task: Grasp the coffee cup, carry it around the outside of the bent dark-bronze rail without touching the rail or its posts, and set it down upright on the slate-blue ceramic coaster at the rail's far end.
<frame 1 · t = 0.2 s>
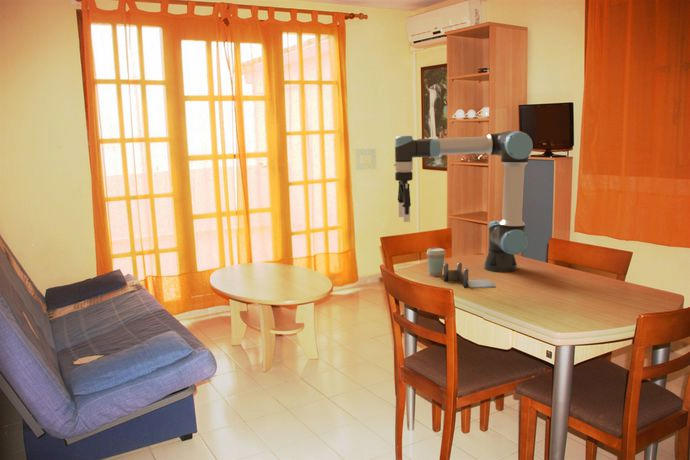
hand: (404, 219, 264), 27 cm above the table, fingers open, 13 cm apart
coffee cup: (435, 275, 275), on the table
rail: (459, 280, 263), on the table
coaster: (479, 284, 257), on the table
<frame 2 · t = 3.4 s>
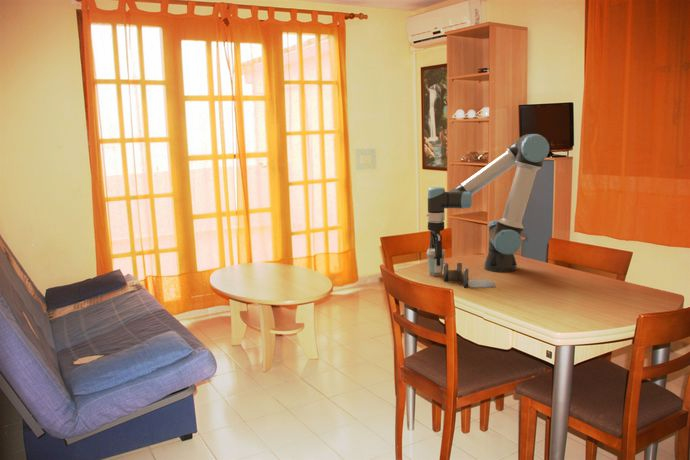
hand: (435, 269, 274), 2 cm above the table, fingers closed on coffee cup, 8 cm apart
coffee cup: (435, 275, 275), on the table, touching gripper
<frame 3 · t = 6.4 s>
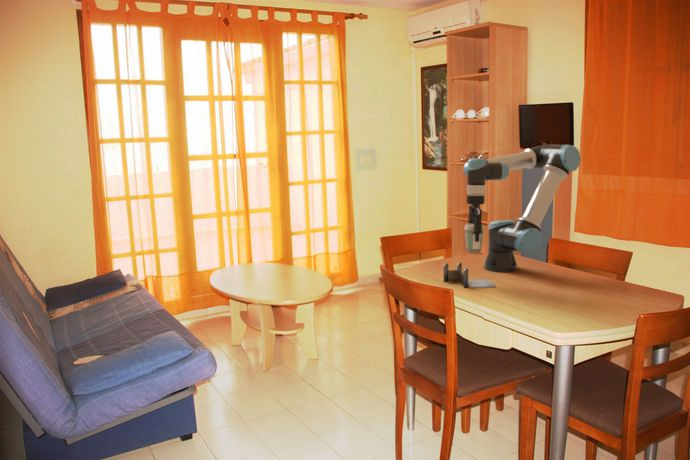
hand: (473, 246, 258), 16 cm above the table, fingers closed on coffee cup, 8 cm apart
coffee cup: (473, 252, 259), point 13 cm above the table, touching gripper
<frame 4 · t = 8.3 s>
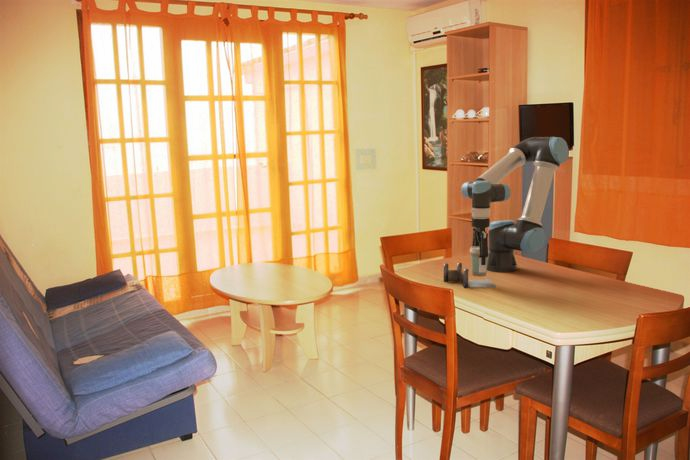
hand: (479, 269, 256), 7 cm above the table, fingers closed on coffee cup, 8 cm apart
coffee cup: (479, 275, 256), point 4 cm above the table, touching gripper
when the fingers open (4 cm above the table, at t = 9.8 s): coffee cup stays where it is, resting on coaster.
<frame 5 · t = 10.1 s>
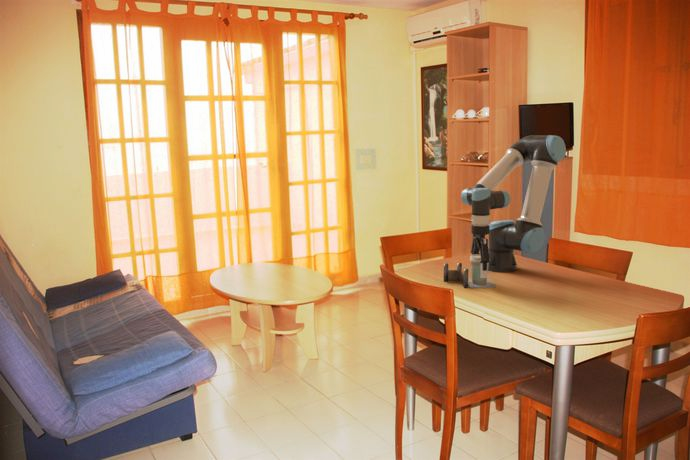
hand: (479, 274, 256), 5 cm above the table, fingers open, 12 cm apart
coffee cup: (479, 283, 257), resting on coaster
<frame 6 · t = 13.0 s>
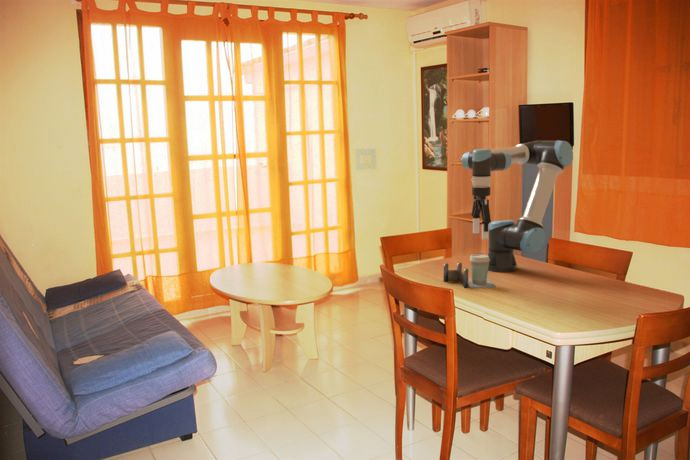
hand: (480, 236, 253), 21 cm above the table, fingers open, 13 cm apart
nothing on the table moved.
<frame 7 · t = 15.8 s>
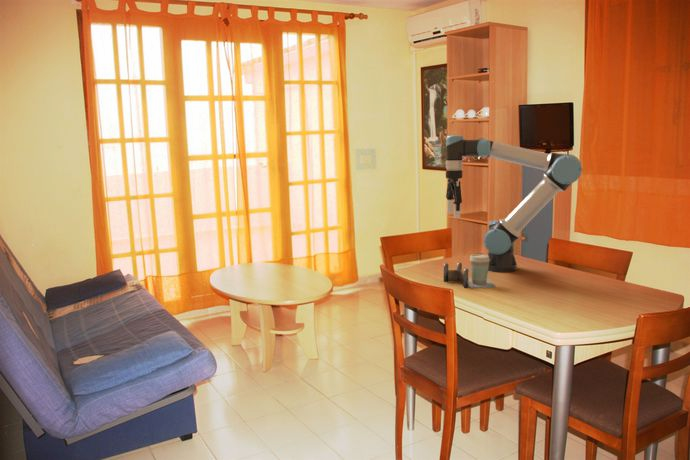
hand: (453, 215, 274), 27 cm above the table, fingers open, 13 cm apart
nothing on the table moved.
at the end: coffee cup inside the target area on the coaster (0.1 cm from its centre), point 0.4 cm above the coaster's base; coffee cup tilted 0°; coffee cup touching coaster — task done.
